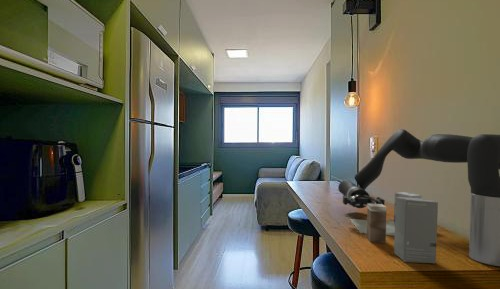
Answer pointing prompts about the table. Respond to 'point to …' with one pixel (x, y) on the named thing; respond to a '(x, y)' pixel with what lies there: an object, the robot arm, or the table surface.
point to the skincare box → (416, 230)
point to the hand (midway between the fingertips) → (367, 204)
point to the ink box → (404, 194)
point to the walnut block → (376, 223)
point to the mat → (362, 226)
